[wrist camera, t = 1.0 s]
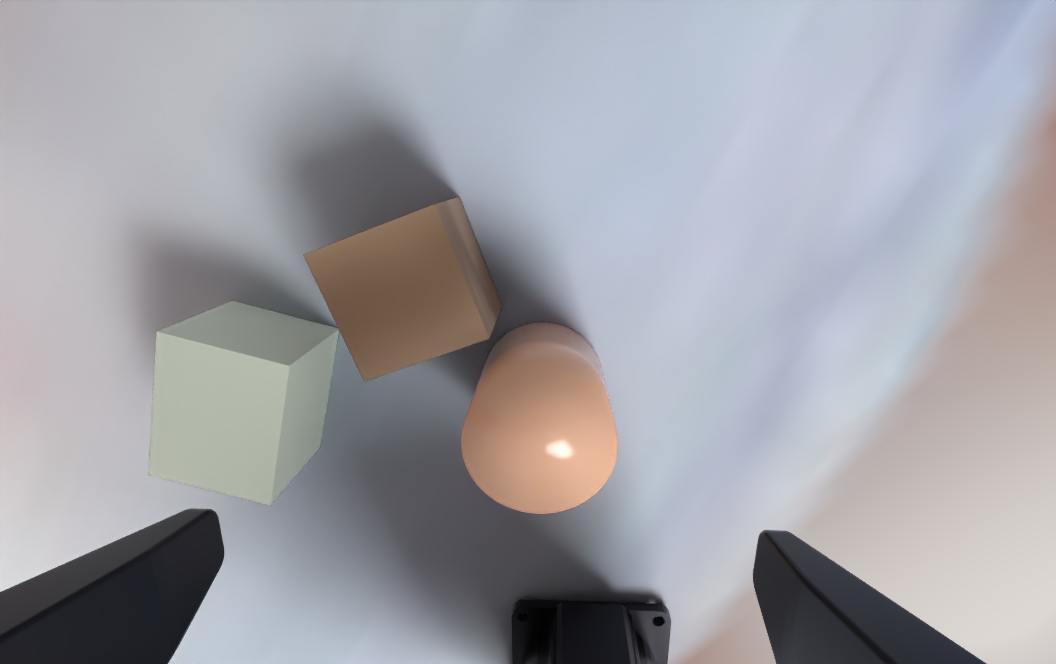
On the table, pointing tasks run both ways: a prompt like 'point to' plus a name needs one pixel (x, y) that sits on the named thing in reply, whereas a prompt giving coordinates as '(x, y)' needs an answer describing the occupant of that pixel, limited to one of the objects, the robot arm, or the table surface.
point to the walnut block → (408, 289)
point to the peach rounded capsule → (540, 421)
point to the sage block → (239, 399)
